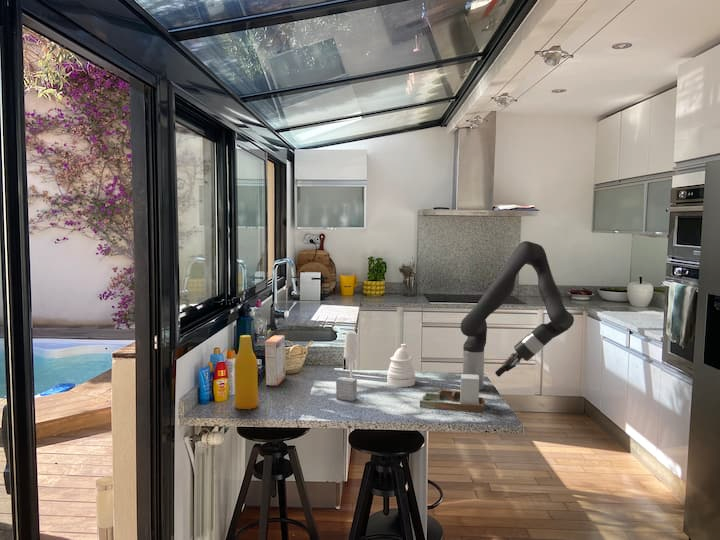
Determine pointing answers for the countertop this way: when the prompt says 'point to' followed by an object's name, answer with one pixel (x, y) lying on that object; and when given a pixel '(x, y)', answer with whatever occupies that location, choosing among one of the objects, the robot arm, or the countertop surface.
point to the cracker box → (275, 360)
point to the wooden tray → (451, 397)
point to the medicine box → (346, 389)
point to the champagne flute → (351, 349)
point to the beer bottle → (246, 375)
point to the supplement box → (469, 389)
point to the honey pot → (401, 369)
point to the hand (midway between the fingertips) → (496, 374)
